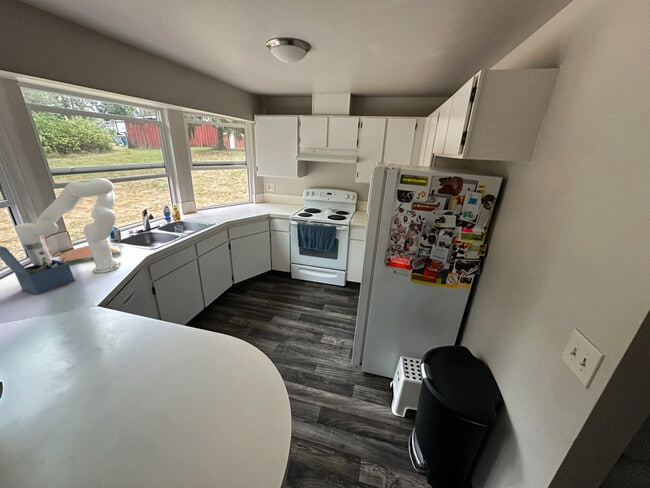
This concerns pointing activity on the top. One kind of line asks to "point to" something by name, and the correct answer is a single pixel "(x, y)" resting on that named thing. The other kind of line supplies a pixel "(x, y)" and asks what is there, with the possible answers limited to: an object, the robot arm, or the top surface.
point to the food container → (40, 269)
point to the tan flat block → (83, 253)
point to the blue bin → (45, 278)
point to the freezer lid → (12, 261)
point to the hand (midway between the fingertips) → (46, 273)
